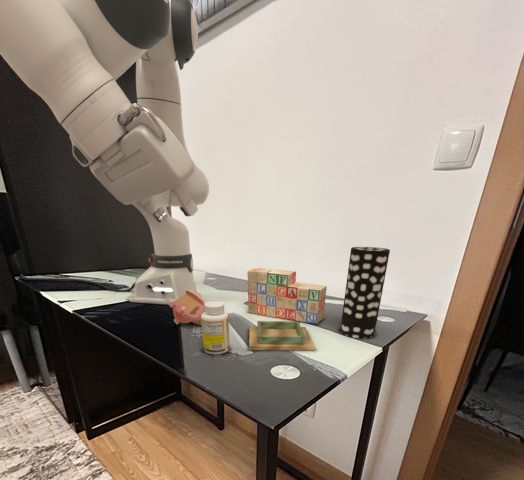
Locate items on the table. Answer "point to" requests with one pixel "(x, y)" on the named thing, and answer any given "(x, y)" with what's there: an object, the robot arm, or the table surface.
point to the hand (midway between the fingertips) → (177, 217)
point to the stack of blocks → (284, 296)
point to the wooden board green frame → (279, 336)
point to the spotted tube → (363, 291)
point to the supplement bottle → (215, 328)
